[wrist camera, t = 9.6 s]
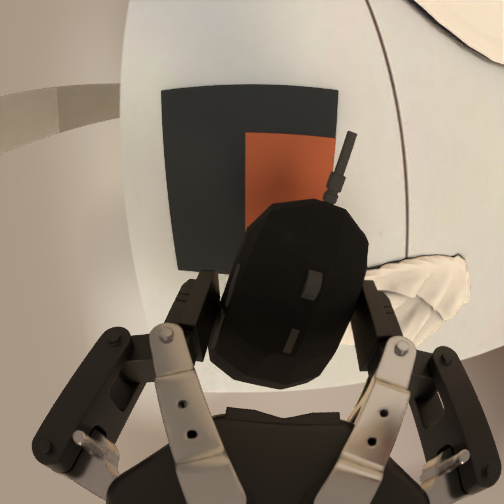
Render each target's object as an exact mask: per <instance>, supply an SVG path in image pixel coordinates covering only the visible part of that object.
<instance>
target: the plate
mask: <svg viewBox="0 0 504 504" xmlns="http://www.w3.org/2000/svg"><path fill="white" fill-rule="evenodd" d="M413 1H414V2H416V3H417V4H418V5H419V6H420V7H421V8H423V9H424V10H425V11H426V12H427V13H428V14H429V15H430V16H431V17H432V18H433V19H434V20H435V21H437V22H438V23H439V24H440V25H441V26H443V27H444V28H446V29H447V30H448V31H450V32H451V33H452V34H453V35H455V36H456V37H457V38H458V39H460V40H461V41H462V42H463V43H465V44H466V45H467V46H469V47H470V48H472V49H474V50H475V51H477V52H479V53H480V54H482V55H484V56H485V57H487V58H488V59H490V60H492V61H494V62H497V63H500V64H503V65H504V0H413Z"/></svg>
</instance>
